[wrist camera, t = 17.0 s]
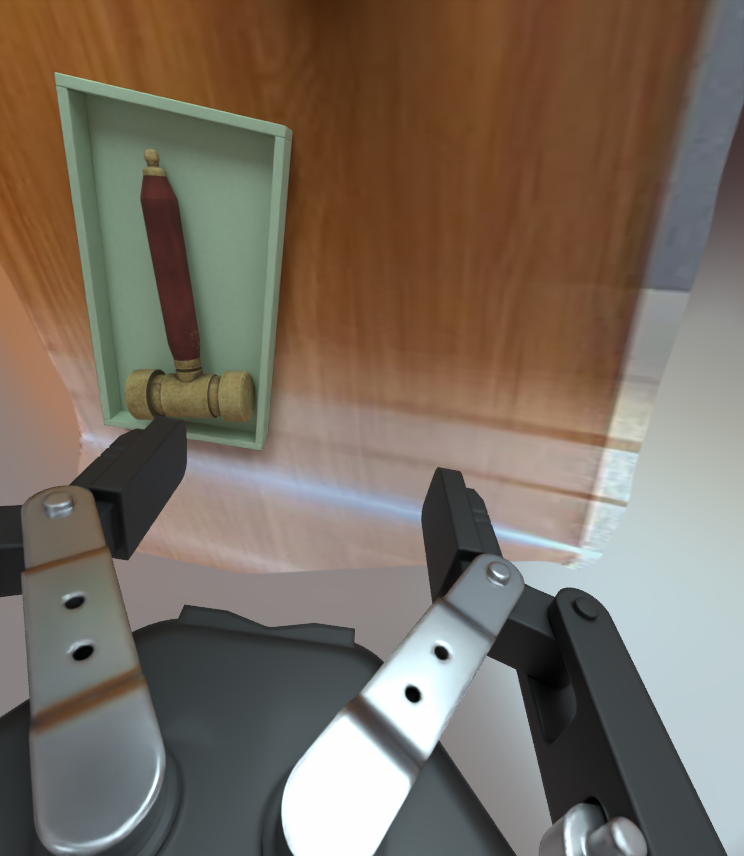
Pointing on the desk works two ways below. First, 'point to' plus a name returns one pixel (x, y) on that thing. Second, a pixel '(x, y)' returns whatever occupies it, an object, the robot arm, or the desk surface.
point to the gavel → (179, 324)
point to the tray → (203, 235)
